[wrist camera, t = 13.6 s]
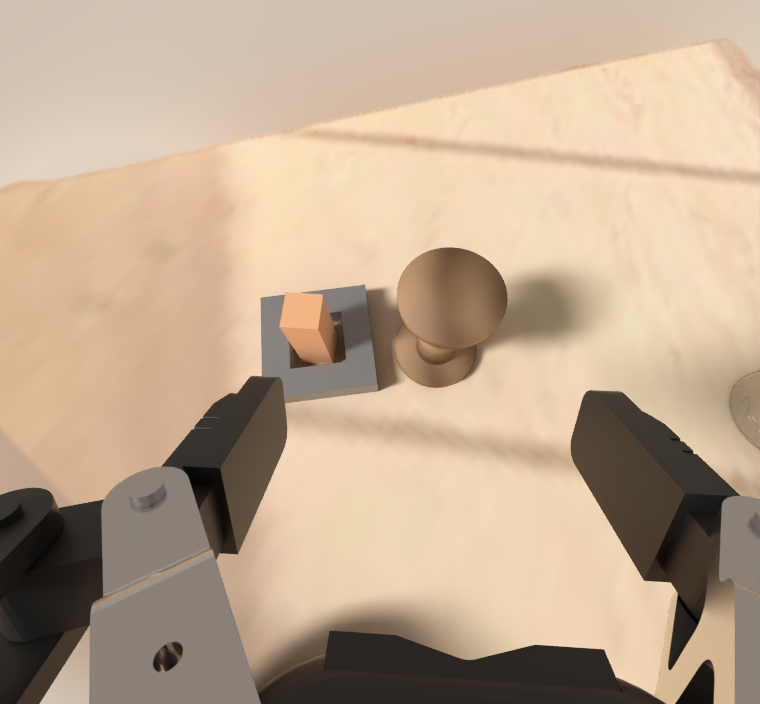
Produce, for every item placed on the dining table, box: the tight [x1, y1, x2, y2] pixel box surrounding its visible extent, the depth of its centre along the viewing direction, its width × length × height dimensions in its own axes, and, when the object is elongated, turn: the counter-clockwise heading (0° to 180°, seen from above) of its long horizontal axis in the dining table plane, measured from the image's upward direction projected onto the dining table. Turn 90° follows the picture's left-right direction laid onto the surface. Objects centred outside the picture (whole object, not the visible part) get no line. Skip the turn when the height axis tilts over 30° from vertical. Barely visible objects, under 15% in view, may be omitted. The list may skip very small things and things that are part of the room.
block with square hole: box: [261, 285, 378, 403], centre depth 43 cm, size 12×12×2 cm
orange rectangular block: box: [279, 292, 337, 364], centre depth 39 cm, size 4×4×10 cm
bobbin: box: [395, 248, 507, 388], centre depth 37 cm, size 9×9×13 cm
